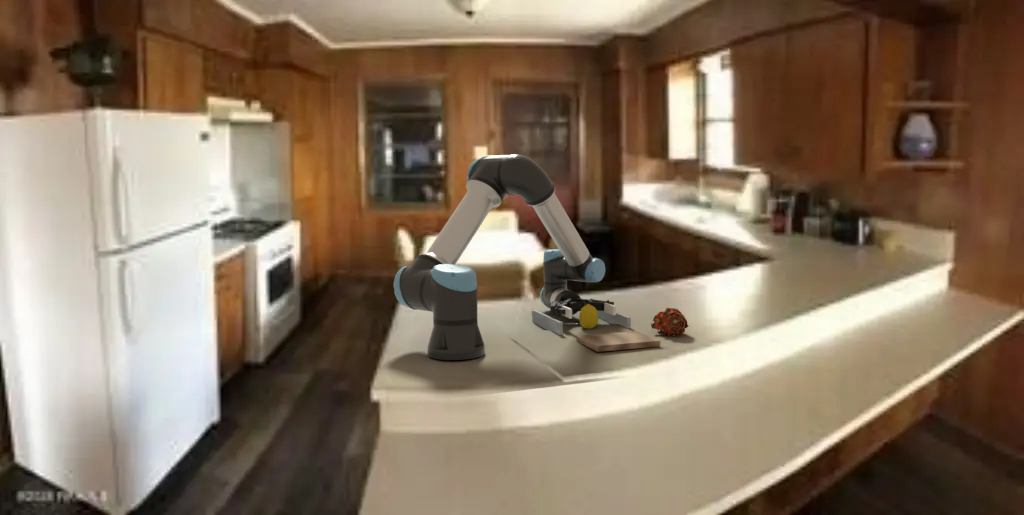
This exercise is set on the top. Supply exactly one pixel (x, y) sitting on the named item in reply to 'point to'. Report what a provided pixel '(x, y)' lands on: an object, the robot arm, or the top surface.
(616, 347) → the board
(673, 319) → the dragon fruit
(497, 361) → the top surface
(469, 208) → the robot arm
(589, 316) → the lemon
